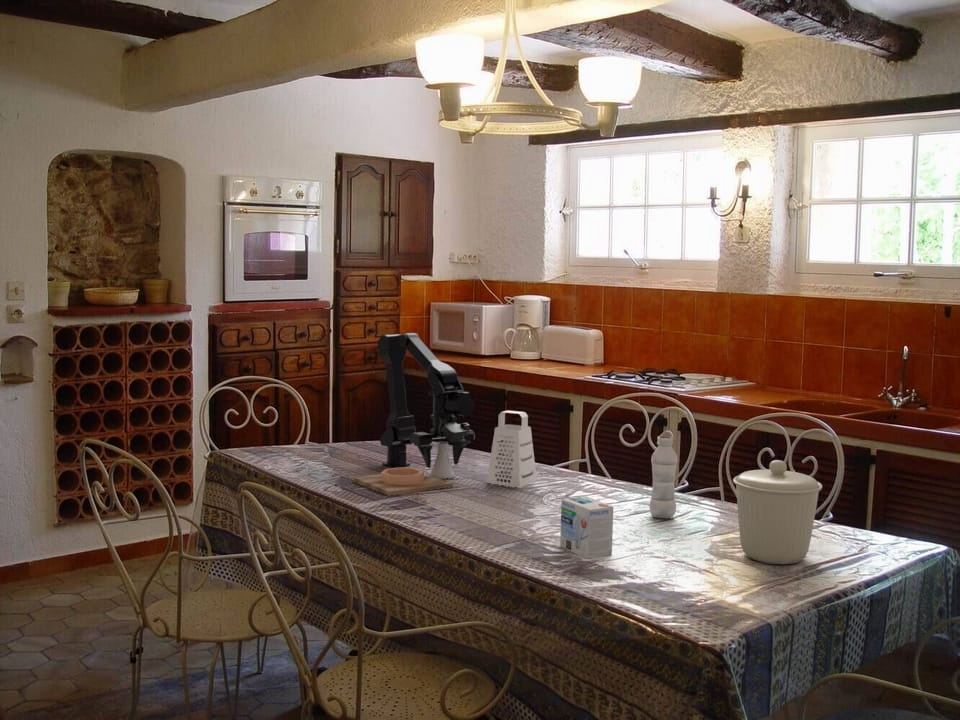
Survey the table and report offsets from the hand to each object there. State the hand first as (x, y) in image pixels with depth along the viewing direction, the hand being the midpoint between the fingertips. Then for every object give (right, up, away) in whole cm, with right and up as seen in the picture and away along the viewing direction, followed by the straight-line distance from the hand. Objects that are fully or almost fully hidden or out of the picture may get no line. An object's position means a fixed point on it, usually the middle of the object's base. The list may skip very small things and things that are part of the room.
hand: (442, 466), depth 290 cm
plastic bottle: (+55, -8, -42) cm, 70 cm away
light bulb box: (+34, -11, -72) cm, 80 cm away
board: (-11, -4, -11) cm, 16 cm away
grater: (+20, -4, -5) cm, 21 cm away
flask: (0, -3, 0) cm, 3 cm away
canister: (+73, -12, -75) cm, 105 cm away
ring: (-11, -3, -11) cm, 15 cm away
